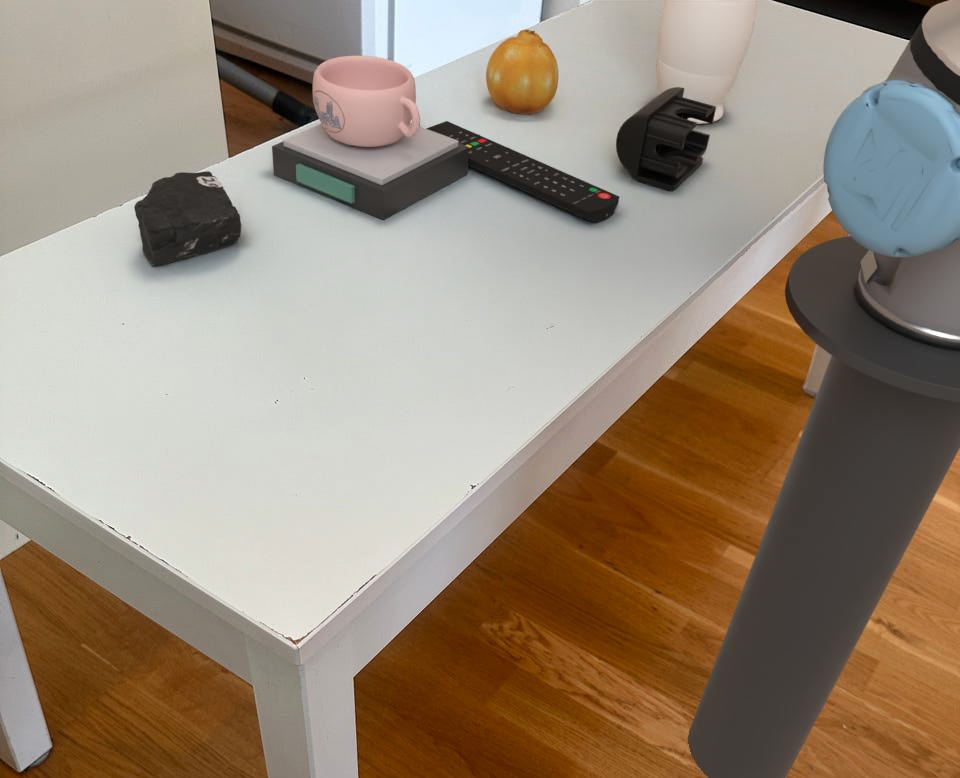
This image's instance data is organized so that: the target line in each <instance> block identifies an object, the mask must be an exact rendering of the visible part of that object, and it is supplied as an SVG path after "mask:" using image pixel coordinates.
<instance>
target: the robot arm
mask: <svg viewBox="0 0 960 778" xmlns="http://www.w3.org/2000/svg"><path fill="white" fill-rule="evenodd" d="M822 168H823V182H824V184H825V185H826V187H827V188H826V189H827V193H828V198H827V200H828V203H829V206H830V208H831V211H832V213H833V214H834V217H835V218H836V220H837V222H838V223H839V225H840V226H841V227H842V229H843V230H844V231H845V233H846V234H848V236H851V237H852V238H853V239H854V240H855V241H856V242H858V243H859V244H860V245H862V246H864V247H865V248H867V249H869V251H868V252H867V253H866V255H865V256H864V258H863V259H862V260H861V266H862V267H861V269H860V272H859V274H858V277H857V280H856V282H855V286H854V292H855V296H856V299H857V301H858V303H859V304H860V306H861V307H862V308H863V309H864V311H865V312H866V313H867V314H868V315H870V316H871V317H872V318H873V319H874V320H876V321H877V322H878V323H880V324H881V325H883V326H884V327H886V328H888V329H889V330H891V331H893V332H895V333H897V334H899V335H901V336H903V337H906V338H908V339H911V340H913V341H916V342H919V343H922V344H925V345H929V346H932V347H936V348H941V349H946V350H952V351H959V352H960V0H946V1H942V2H939V3H937V4H935V5H933V6H932V7H930V9H928V11H927V12H926V14H925V15H924V17H923V18H922V20H921V22H920V23H919V25H918V26H917V28H916V30H915V32H914V33H913V35H912V36H911V37H910V39H909V41H908V42H907V44H906V46H905V48H904V50H903V51H902V53H901V55H900V56H899V57H898V60H897V61H896V63H895V64H894V66H893V68H892V70H891V71H890V73H889V74H888V76H887V78H886V79H885V81H882V82H880V83H877V84H875V85H872V86H870V87H868V88H866V89H865V90H863V91H862V93H861V94H860V95H859V96H857V97H856V98H854V99H853V101H851V102H850V103H849V104H848V105H847V106H846V107H845V108H844V109H843V110H842V112H841V113H840V114H839V116H838V117H837V119H836V121H835V123H834V124H833V126H832V128H831V131H830V133H829V135H828V138H827V142H826V145H825V149H824V155H823V166H822Z"/></svg>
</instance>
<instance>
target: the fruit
mask: <svg viewBox="0 0 960 778" xmlns="http://www.w3.org/2000/svg"><path fill="white" fill-rule="evenodd" d="M543 40H544V39H543V38H542V37H541V36H540V35H539V34H538V33H537V32H535V30H530V29H522V30H520V31H519V32H518V34H517V35H516V36H513V37H508V38H507V39H505V40H503V41H502V42H501V43H500V44H499V45H498V46H497V47H496V48H495V49H494V51H493V52H492V54H491V55H490V57H489V59H488V61H487V66H486V71H485V81H486V87H487V92H488V94H489V95H490V97H491V100H492V101H493V102H494V103H495V104H496V105H497V106H498V107H500V108H501V109H503V110H506V111H508V112H510V113H515V114H520V115H522V114H523V115H527V114H528V115H530V114H535V113H538V112H540V111H542V110H544V109H545V108H546V107H548V106H549V104H551V102H552V101H553V99H554V98H555V96H556V93H557V90H558V86H559V67H558V66H559V65H558V61H557V59H556V56H555V55H554V53H553V51H552V49H551V48H550V46H549V45H548V44H547V43H545V42H544V41H543Z"/></svg>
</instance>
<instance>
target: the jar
mask: <svg viewBox="0 0 960 778" xmlns="http://www.w3.org/2000/svg"><path fill="white" fill-rule="evenodd" d="M757 6H758V0H664V3H663V7H662V11H661V15H660V18H659V19H660V20H659V26H658V33H657V56H656V81H657V87H658V91H659V93H658V95H660V94H661V93H662V92H664V91H666V90H667V89H670V88H674V87H681V88H684V93H683V97H684V98H687V99H691V100H694V101H698V102H701V103H705V104H709V105H712V106H716V111H715V116H714V120H713V123H714V122H717V121H718V120H720V119H722V117H723V116H724V112H725V111H724V110H725V109H724V105H723V101H724V100H725V99H726V97H727V96H728V95H729V93H730V91H731V90H732V88H733V86H734V84H735V82H736V79H737V77H738V74H739V72H740V68H741V66H742V64H743V62H744V60H745V58H746V54H747V53H748V49H749V46H750V43H751V39H752V36H753V32H754V26H755V22H756V15H757ZM687 120H690V121H694V122H697V123H696V125H702V124H703V125H704V124H705V125H706V124H709V123H708V122H704V121H701V120H697V119H694V118H688V119H687Z"/></svg>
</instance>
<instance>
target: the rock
mask: <svg viewBox="0 0 960 778" xmlns="http://www.w3.org/2000/svg"><path fill="white" fill-rule="evenodd" d="M133 206H134V207H133V208H134V213H135V217H136V219H137V222H138V223H137V224H138V225H137V226H138V229H139V233H140V236H139V237H140V240H141V245H142V247H141V249H142V253H143V255H144V257H145V259H146V260H147V262H148V263H149V264H150V265H151V266H158V265H159V266H160V265H166V264H170V263H174V262H177V261H180V260H182V259H186V258H187V259H188V258H191V257H194V256H197V255H198V256H199V255H205V254H208V253H211V252H214V251H217V250H220V249H222V248H226V247H229V246H231V245H234V243H236V242H237V241H238V240H239V239H240V236H241V234H242V221H241V215H240V212H239V211H238V209H237V208H236V206H235V205H233V202H232V200H231V199H230V197H229V195H228V194H227V191H226V190H225V189H224V186H223V185H222V183H221V182H220V181H219V178H218V177H217V176H215V175H213V173H212V172H211V171H210V170H209V171H208V170H207V171H201V172H183V171H182V172H175V174H173V175H172V176H168V177H167V176H165V177H162V178H160V179H157V180H155V181H153V183H152V184H151V187H150V189H149V190H148V193H146V196H144V197H143V198H142V199H140V200H138V201H137V202H135V204H134V205H133Z"/></svg>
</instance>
